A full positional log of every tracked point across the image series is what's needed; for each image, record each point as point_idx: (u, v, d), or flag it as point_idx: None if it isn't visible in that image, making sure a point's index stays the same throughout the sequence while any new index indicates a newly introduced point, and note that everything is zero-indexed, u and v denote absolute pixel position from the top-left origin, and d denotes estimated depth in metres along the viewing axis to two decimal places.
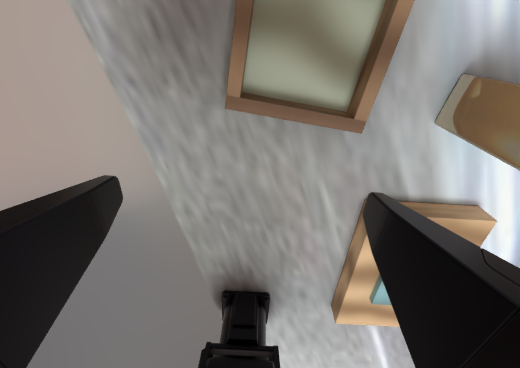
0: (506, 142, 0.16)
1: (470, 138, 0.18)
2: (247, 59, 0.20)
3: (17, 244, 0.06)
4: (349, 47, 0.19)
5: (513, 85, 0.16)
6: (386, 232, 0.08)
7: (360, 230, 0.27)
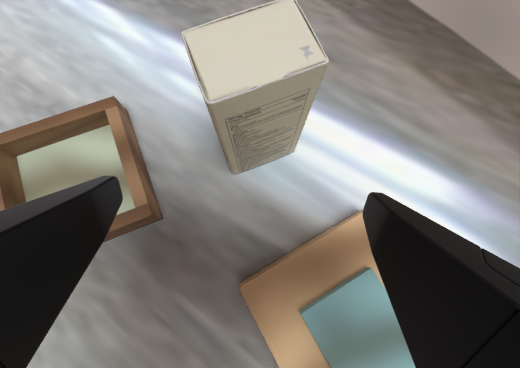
0: None
1: (225, 155, 0.19)
2: None
3: (17, 244, 0.06)
4: (114, 169, 0.22)
5: None
6: (386, 232, 0.08)
7: None
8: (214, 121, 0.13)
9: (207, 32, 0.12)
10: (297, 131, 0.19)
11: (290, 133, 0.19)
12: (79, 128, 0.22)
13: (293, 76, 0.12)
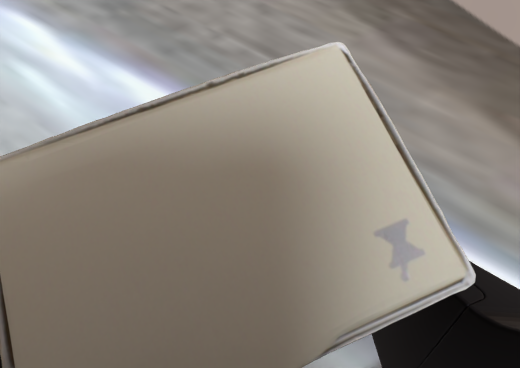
0: None
1: None
2: None
3: None
4: None
5: None
6: None
7: None
8: None
9: (64, 168, 0.04)
10: None
11: None
12: None
13: (356, 338, 0.03)
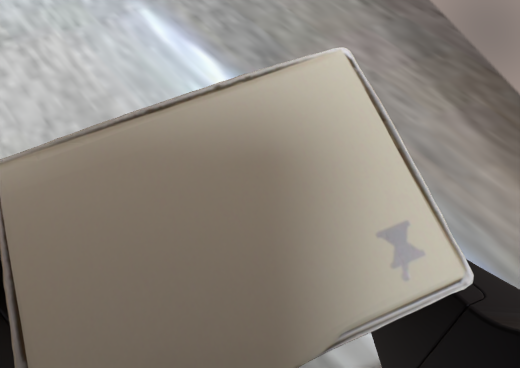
0: None
1: None
2: None
3: None
4: None
5: None
6: None
7: None
8: None
9: (73, 168, 0.04)
10: None
11: None
12: None
13: (357, 336, 0.03)
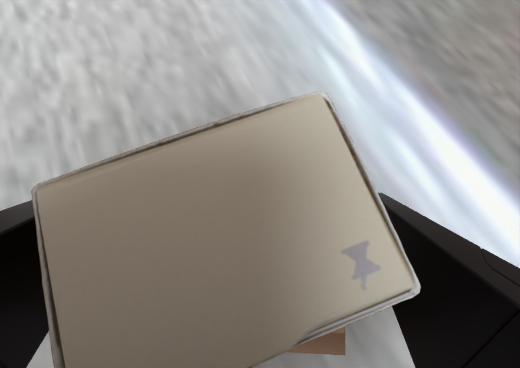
0: None
1: None
2: None
3: (17, 244, 0.06)
4: None
5: None
6: None
7: None
8: None
9: (98, 191, 0.05)
10: None
11: None
12: None
13: (323, 333, 0.04)
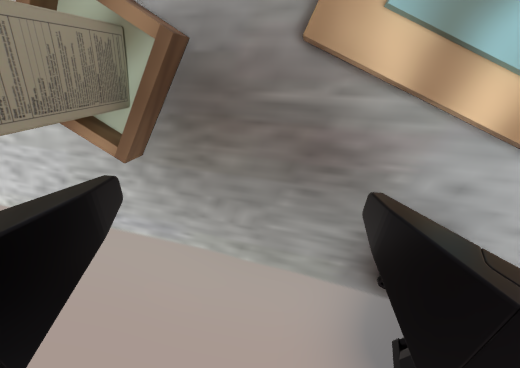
0: None
1: (83, 116, 0.18)
2: (109, 125, 0.23)
3: (17, 244, 0.06)
4: None
5: None
6: (386, 232, 0.08)
7: (347, 60, 0.17)
8: None
9: None
10: (70, 22, 0.15)
11: (70, 34, 0.15)
12: None
13: None
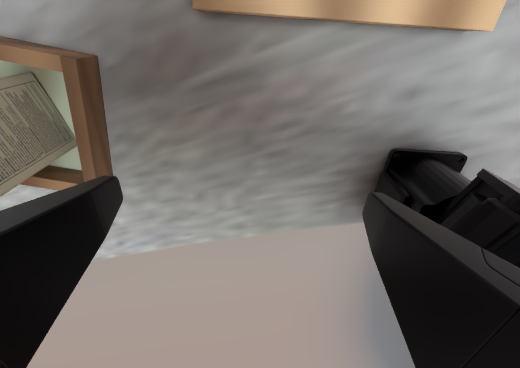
0: None
1: (36, 172, 0.18)
2: (70, 167, 0.23)
3: (17, 243, 0.06)
4: None
5: None
6: (386, 232, 0.08)
7: None
8: None
9: None
10: None
11: None
12: None
13: None
